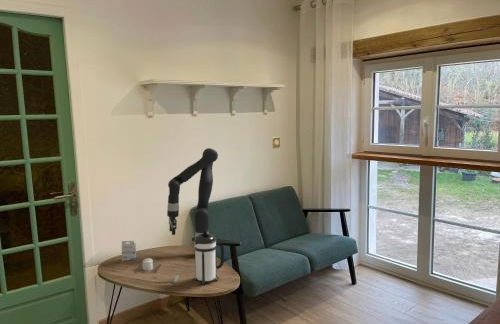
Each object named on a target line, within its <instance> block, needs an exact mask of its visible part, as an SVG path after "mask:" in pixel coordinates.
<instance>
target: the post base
mask: <svg viewBox="0 0 500 324" xmlns="http://www.w3.org/2000/svg"><path fill="white" fill-rule="evenodd" d="M161 266H162V263H156V264H154V263H153V269H151V270H148V271H145V270H143V263H142V264H139V265H138V267H137V268H136V269H135V270H134V272H133V274H157V273H158V271H159V270H160V267H161Z"/></svg>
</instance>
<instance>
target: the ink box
mask: <svg viewBox="0 0 500 324" xmlns="http://www.w3.org/2000/svg"><path fill="white" fill-rule="evenodd" d="M136 245H137V243H136V242H135V240H122V241H121V257H122V258H121V259H122V260H121V261H122V262H124V261H135V260H136V259H137V246H136Z"/></svg>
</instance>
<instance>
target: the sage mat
mask: <svg viewBox="0 0 500 324" xmlns="http://www.w3.org/2000/svg"><path fill="white" fill-rule="evenodd" d="M179 277H180V275H179V274H176V275H175V277H174V280H173V281H167V282H165V281H158V282H157V281H155V282H154V283H155V284H176V283H177V282H178V279H179Z"/></svg>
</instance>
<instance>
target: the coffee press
mask: <svg viewBox="0 0 500 324" xmlns="http://www.w3.org/2000/svg"><path fill="white" fill-rule="evenodd" d="M203 233H204V234H200V235H198V236H196V238H194V239H193V240H194V242H193V247H194V260H195V261H194V262H195V263H194V266H195V271H194V272H195V276H194V277H193V280H194V281H196V280H198V281H199V282H200V281H201V286H205V285H206V282H210V281H213V280H215V281H216V282H218V281H219V277H218V274H217V273H218V272H217V270H219V269H221V268H222V267H223V266H224V262H225V248H224V245H223V244H222V243H221V242H217V238H216V236H215V235H214V234H212V233H209V234H208V233H207V231H204V232H203ZM218 246H219V248H220V262H219V264H217V247H218Z"/></svg>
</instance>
